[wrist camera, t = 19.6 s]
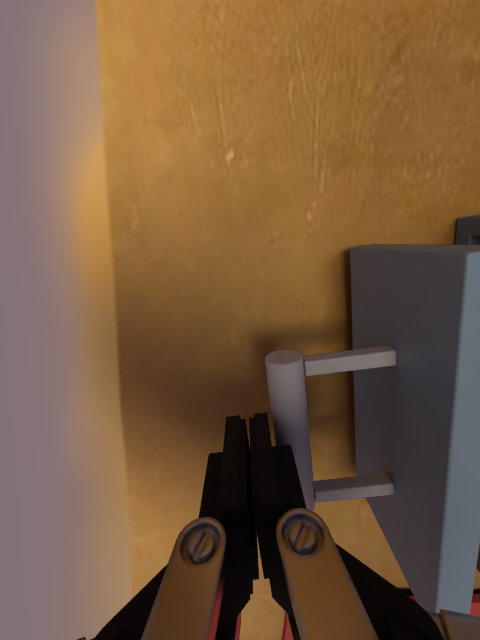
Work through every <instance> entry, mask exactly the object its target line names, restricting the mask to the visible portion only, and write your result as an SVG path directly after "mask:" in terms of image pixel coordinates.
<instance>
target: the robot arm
mask: <svg viewBox="0 0 480 640" xmlns="http://www.w3.org/2000/svg"><path fill="white" fill-rule="evenodd" d="M249 430H250V447H249V440H248V434H247V427H246V420H245V419H240V415H238V416H229V417H226V425H225V436H224V447H223V452H218V453H210V454H209V457H208V462H207V469H206V475H205V481H204V488H203V494H202V500H201V507H200V513H199V518H198V519H196V520H193V521H192V522H190V523H189V524H188V525H186V526H185V527H184V529H183V530H182V531H181V532H180V534H179V536H178V538H177V540H176V543H175V545H174V548H173V551H172V554H171V557H170V559H169V562H168V564H167V565H166V566H165V567H164V568H163V569H162V570H161V571H160V572H159V573H158V574H157V575H156V576H155V577H154V578H153V579H152V580H151V581H150V582H149V583H148V584H147V585H146V586H145V587H144V588H143V589H142V590H141V591H140V592H139V593H138V594H137V595H136V596H135V597H134V598H133V599H132V600H131V601H130V602H129V603H127V605H126V606H124V607H123V609H121V610H120V612H118V613H117V614H116V615H115V616H114V617H113V618H112V619H111V620H110V621H109V622H108V623H107V624H106V625H105V626H104V627H103V629H102V630H101V631H100V632H99V633H98V634H97V636H96V637H95V638H93V639H91V640H239V635H240V626H241V611H242V610H243V608H244V607H245V605H246V604H247V603H248V601H249V600H250V594H253V580H256V579H259V567H258V548H257V536H258V542H259V549H260V555H261V562H262V568H263V574H264V579H268V578H269V579H270V586H271V592H272V597H273V599H274V600H275V601H276V602H277V603H278V604H279V605H280V606H281V607H282V608H283V609H284V610H285V611H286V613H287V620H288V624H289V628H290V632H291V636H292V640H480V617H479V616H474V615H469V614H464V613H459V612H454V611H449V610H444V609H440V610H439V613H435V612H430V611H426V610H425V609H423V608H422V607H421V606H420V605H419V604H418V603H417V602H416V601H414V600H413V599H411V598H410V597H409V596H407V595H406V594H405V593H403V592H402V591H400V590H399V589H398V588H396V587H395V586H394V585H392V584H391V583H389V582H388V581H387V580H385V579H384V578H383V577H381V576H380V575H378V574H377V573H376V572H374V571H373V570H372V569H370V568H369V567H367V566H366V565H365V564H363V563H362V562H360V561H359V560H358V559H356V558H355V557H354V556H352V555H351V554H349V553H348V552H347V551H345V550H344V549H343V548H341V547H340V546H338V545H337V544H336V543H334V540H333V538H332V536H331V534H330V532H329V529H328V527H327V525H326V524H325V522H324V521H323V519H322V518H321V517H320V516H319V515H317V514H316V513H315V512H313V511H311V510H309V509H307V508H306V504H305V499H304V495H303V491H302V487H301V483H300V479H299V475H298V471H297V467H296V463H295V459H294V455H293V451H292V447H291V445H284V446H275V447H272V444H271V437H270V430H269V424H268V417H267V412H265V413H256V414H254V418H249ZM78 640H86V638H85V637H83V638H80V639H78Z"/></svg>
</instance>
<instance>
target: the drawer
mask: <svg viewBox="0 0 480 640" xmlns="http://www.w3.org/2000/svg"><path fill="white" fill-rule="evenodd" d="M350 258H351V295H352V332H353V350H348V351H340V352H332V353H324V354H316V355H308V356H302V354H301V353H300V352H298V351H295V350H277V351H274V352H271V353H269V354H268V355H267V356H266V357H265V365H266V373H267V382H268V390H269V398H270V406H271V414H272V422H273V430H274V438H275V446H284V445H291V447H292V451H293V455H294V459H295V463H296V467H297V471H298V475H299V479H300V483H301V487H302V491H303V495H304V499H305V504H306V508H307V509H309V510H311V511H313V509H314V506H315V501H316V502H327V501H336V500H346V499H356V498H365V497H366V499H367V501H368V503H369V505H370V507H371V509H372V511H373V513H374V515H375V517H376V519H377V521H378V523H379V525H380V527H381V529H382V532H383V534H384V536H385V538H386V540H387V542H388V544H389V546H390V548H391V550H392V552H393V554H394V556H395V558H396V560H397V562H398V564H399V566H400V568H401V570H402V572H403V574H404V576H405V578H406V580H407V582H408V585H409V587H410V589H411V591H412V593H413V595H414V597H415V599H416V601H417V603H418V604H419V605H420V606H421V607H422V608H423V609H425V610H426V611H430V612H435V613H439V610H440V609H444V610H449V611H454V612H459V613H464V614H469V615H470V610H471V603H472V595H473V588H474V581H475V574H476V568H477V569H478V571H479V572H480V245H412V244H372V245H365V246H358V247H352V248H351V249H350ZM353 370H354V406H355V443H356V477H347V478H338V479H328V480H319V481H313V473H312V461H311V449H310V436H309V424H308V412H307V400H306V387H305V375H306V376H313V375H321V374H329V373H337V372H345V371H353ZM304 373H305V375H304ZM314 497H315V498H314Z"/></svg>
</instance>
